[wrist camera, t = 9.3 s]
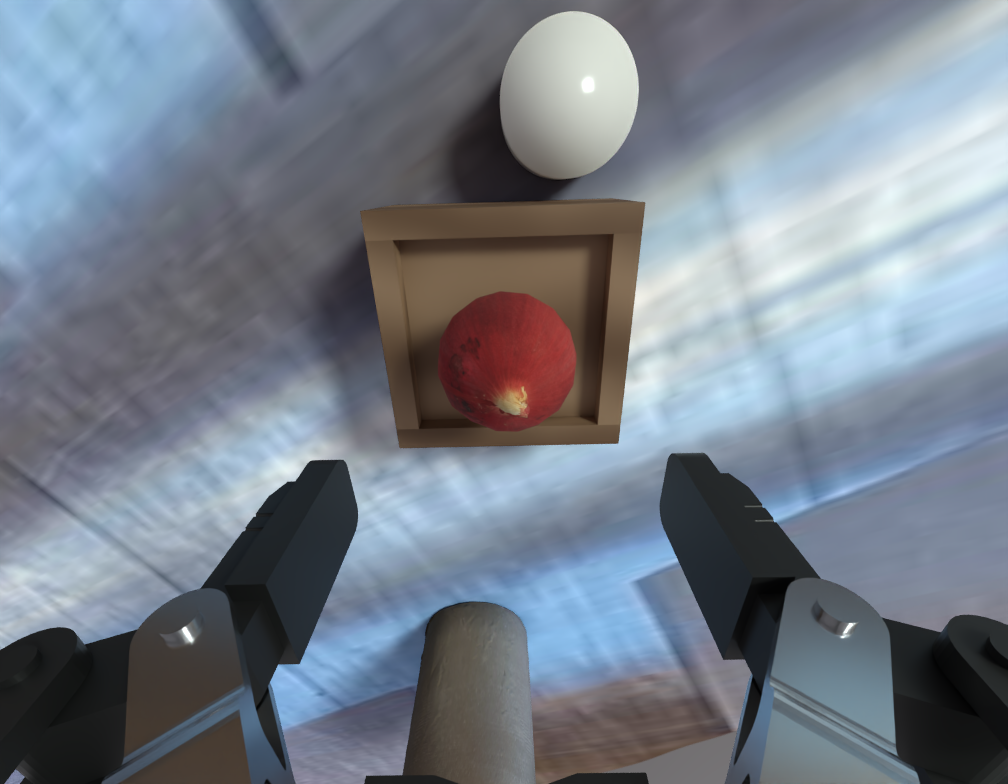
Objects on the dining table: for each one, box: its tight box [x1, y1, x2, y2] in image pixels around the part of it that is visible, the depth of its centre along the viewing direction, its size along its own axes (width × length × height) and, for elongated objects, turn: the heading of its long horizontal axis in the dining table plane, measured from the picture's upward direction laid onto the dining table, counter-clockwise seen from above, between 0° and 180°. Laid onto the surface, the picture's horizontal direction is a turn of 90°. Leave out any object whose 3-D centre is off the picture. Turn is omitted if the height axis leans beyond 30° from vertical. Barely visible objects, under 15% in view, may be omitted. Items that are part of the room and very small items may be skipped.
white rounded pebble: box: [500, 11, 639, 180], centre depth 20 cm, size 6×6×4 cm
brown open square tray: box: [360, 199, 645, 448], centre depth 23 cm, size 12×12×6 cm
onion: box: [438, 291, 577, 432], centre depth 17 cm, size 6×6×8 cm
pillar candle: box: [403, 602, 536, 784], centre depth 33 cm, size 10×10×15 cm
